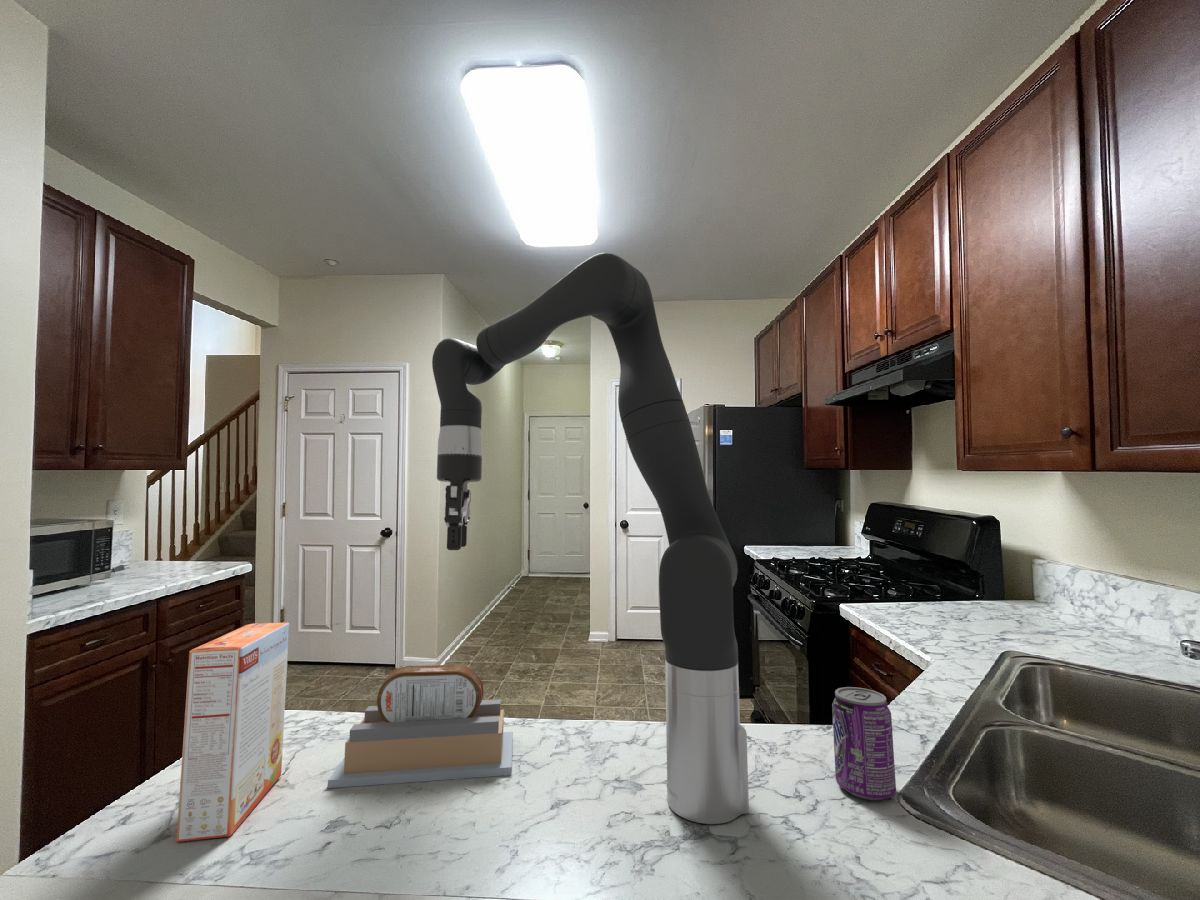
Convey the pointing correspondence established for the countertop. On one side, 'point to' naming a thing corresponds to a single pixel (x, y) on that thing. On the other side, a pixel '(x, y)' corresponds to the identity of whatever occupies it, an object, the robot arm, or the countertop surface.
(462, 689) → the tin
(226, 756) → the cracker box
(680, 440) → the robot arm
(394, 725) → the grey tan slotted stand
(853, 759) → the beverage can
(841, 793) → the countertop surface
